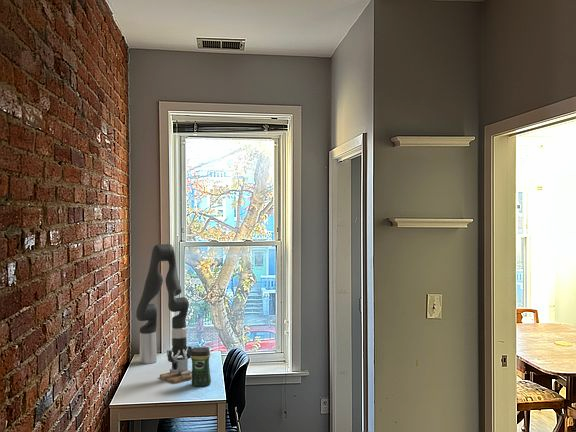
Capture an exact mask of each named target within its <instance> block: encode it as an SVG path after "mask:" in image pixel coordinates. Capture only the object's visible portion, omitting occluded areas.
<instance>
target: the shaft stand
mask: <svg viewBox="0 0 576 432" xmlns="http://www.w3.org/2000/svg"><path fill="white" fill-rule="evenodd" d="M159 378H160V379H162V380H165V381H167V382H170V383H172V384H174V385H175V384H179V383H183V382H188V381H191V378H192V370H191V371H190V370H187V371H183V372H179V373H177V372H175V371H172V368H169V372H166V373H162V374H159Z"/></svg>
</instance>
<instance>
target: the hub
mask: <svg viewBox="0 0 576 432" xmlns="http://www.w3.org/2000/svg"><path fill="white" fill-rule="evenodd" d="M188 360H189V359H188ZM188 360H187V359H186V358H183V357H182V356H178V358H177V359H176V362H175V363H176V370H173V369H172V368H171V369H172V371H175V372H177V373H179V372H183V371H187V370H188V369H189V368H188V367H189V366H188V365H189V364H188V362H189V361H188Z"/></svg>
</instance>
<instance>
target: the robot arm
mask: <svg viewBox="0 0 576 432" xmlns="http://www.w3.org/2000/svg"><path fill="white" fill-rule="evenodd" d="M160 262H168V270H167V273H166V277H165V286H166V290H167V294H168V300H167V301H168V302H167V305H168V306H167V307H168V310H169V311H170V312H172V313H177V312H179V313H178V314H177V315H175V316H173V317H172V318H171V346H172V347H171V349H169V350H168V349H167V350H166V356H167V362H169V363H171V369H173V370H176V363H175V362H176V359H177V358H179V357H183V358H186V359H187V360H189V359H191V350H192V348H193V347H192V346H190V345H188V346H187V343H188V342H187V328H186V327H187V325H186V324H187V322H186V320H187V315H188V310H189V307H190V301H189V299H188V298H187V297H186V296H185V297H183V296H182V297H177V296H178V295H180V294H182V287H181V284H180V283H181V282H180V280H179V276H178V275H179V274H178V268H177V260H176V252H175V248H174V246H173V245H172V244H168V243H167V244H155V245H154V246H153V248H152V251H151V256H150V262H149V267H148V270H147V271H148V272H147V275H146V279H145V281H144V286H143V291H142V294H141V296H140V300H139V301H138V304H137V308H136V310H135V311H136V312H135V313H136V314H135V316H136V320H138V321H140V322H146V323H145V324H143V325H142V326H141V327H139V362H140V364H142V365H143V364H148V365H149V364H154V363H157V361H158V358H157V352H158V351H157V325H158V309H157V306H156V304H154V303H151V301H152V300H153V299H154V298H155V297H156V296H158V294H159V293H160V291H161V289H162V285H163V281H164V278H163V275H162V274H161V272H160V269H159V263H160Z"/></svg>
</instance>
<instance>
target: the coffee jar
mask: <svg viewBox="0 0 576 432" xmlns="http://www.w3.org/2000/svg"><path fill="white" fill-rule="evenodd" d="M210 357H211V352H210V347H209V346H205V347H204V346H203V347H202V346H198V347H197V346H196V347H192V350H191V358H190V359H191V366H192V367H191V371H192V378H191V380H190V381H191V385H192V386H193V387H207V386H209V385H211V383H212V379H211V377H212V376H211V369H210Z"/></svg>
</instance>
